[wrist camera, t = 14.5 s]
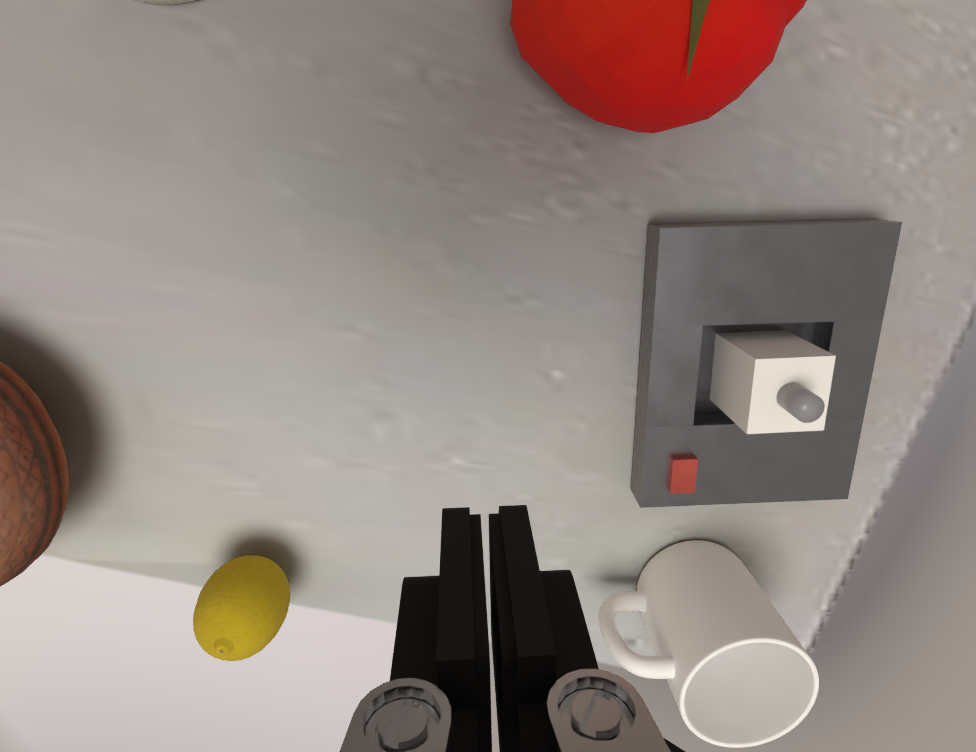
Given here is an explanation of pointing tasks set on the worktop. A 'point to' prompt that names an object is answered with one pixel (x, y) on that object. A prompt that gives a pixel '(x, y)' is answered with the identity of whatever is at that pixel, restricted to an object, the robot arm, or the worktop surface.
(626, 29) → the tomato
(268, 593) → the lemon
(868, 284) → the socket
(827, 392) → the plug
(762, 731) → the cup
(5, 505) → the bowl
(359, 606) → the worktop surface
